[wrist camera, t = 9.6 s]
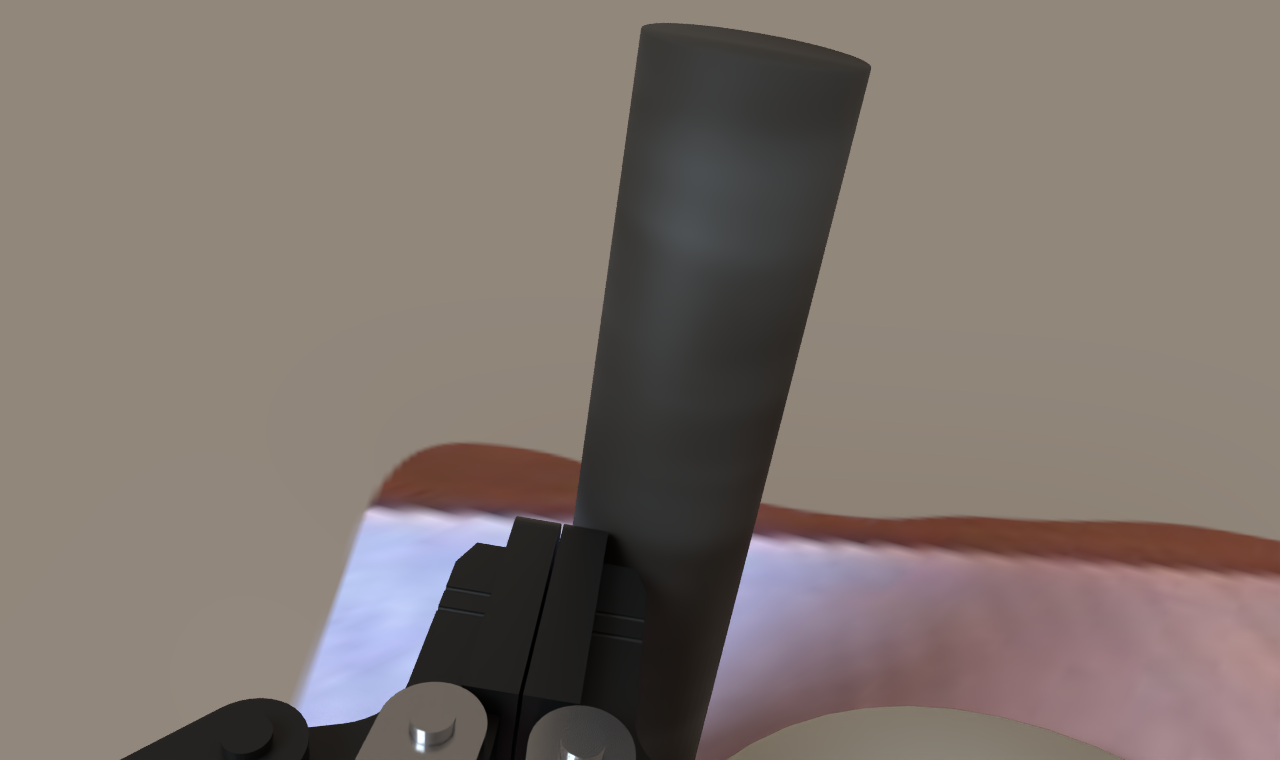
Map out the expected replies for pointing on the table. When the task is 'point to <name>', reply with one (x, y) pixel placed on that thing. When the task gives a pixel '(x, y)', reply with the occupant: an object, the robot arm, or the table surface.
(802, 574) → the table surface
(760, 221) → the dial
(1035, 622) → the table surface
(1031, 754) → the plate
